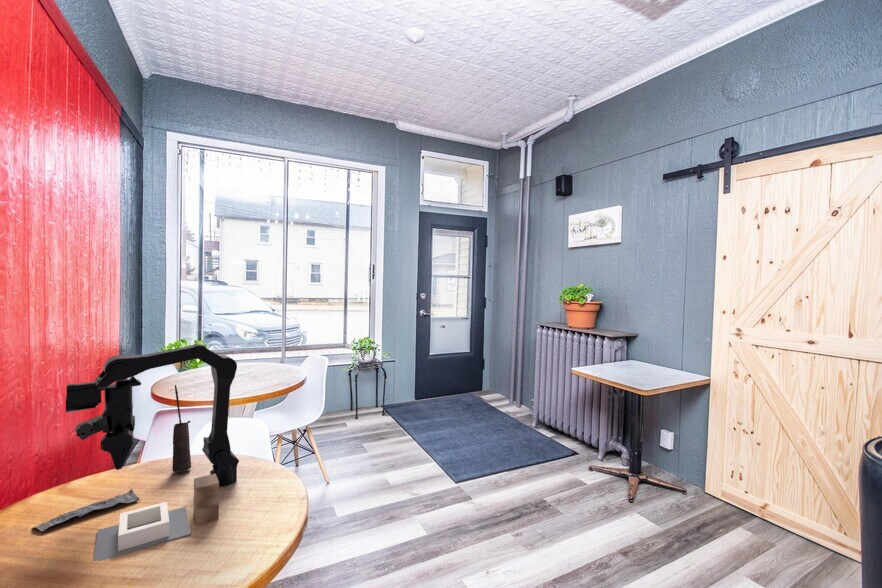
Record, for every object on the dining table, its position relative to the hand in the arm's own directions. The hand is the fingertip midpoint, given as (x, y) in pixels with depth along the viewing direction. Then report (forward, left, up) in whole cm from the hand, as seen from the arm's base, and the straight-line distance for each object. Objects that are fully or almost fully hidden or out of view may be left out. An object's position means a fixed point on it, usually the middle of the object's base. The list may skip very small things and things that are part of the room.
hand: (119, 462), depth 106 cm
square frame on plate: (-5, +16, -13) cm, 21 cm away
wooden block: (-18, +16, -13) cm, 27 cm away
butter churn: (-16, -20, -14) cm, 29 cm away
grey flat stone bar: (+3, 0, -16) cm, 17 cm away
